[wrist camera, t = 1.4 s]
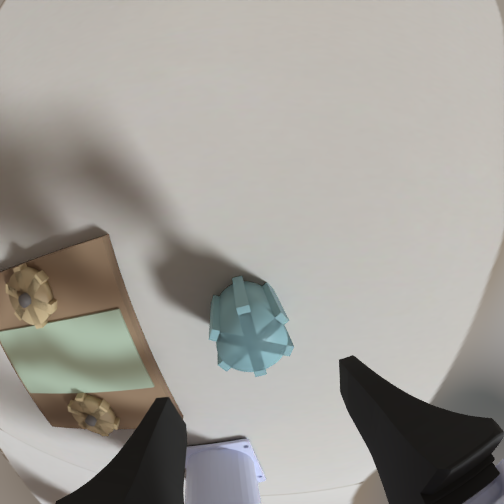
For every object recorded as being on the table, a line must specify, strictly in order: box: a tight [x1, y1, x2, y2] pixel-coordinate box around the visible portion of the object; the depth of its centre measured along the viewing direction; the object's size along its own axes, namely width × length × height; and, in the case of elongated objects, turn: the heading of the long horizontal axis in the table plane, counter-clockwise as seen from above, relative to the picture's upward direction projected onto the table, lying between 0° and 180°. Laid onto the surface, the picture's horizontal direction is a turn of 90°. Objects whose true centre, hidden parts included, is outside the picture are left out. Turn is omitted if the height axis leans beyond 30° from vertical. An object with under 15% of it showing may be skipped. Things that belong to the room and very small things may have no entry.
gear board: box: [0, 234, 183, 436], centre depth 18 cm, size 17×16×3 cm
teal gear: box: [209, 276, 294, 377], centre depth 18 cm, size 5×4×5 cm
